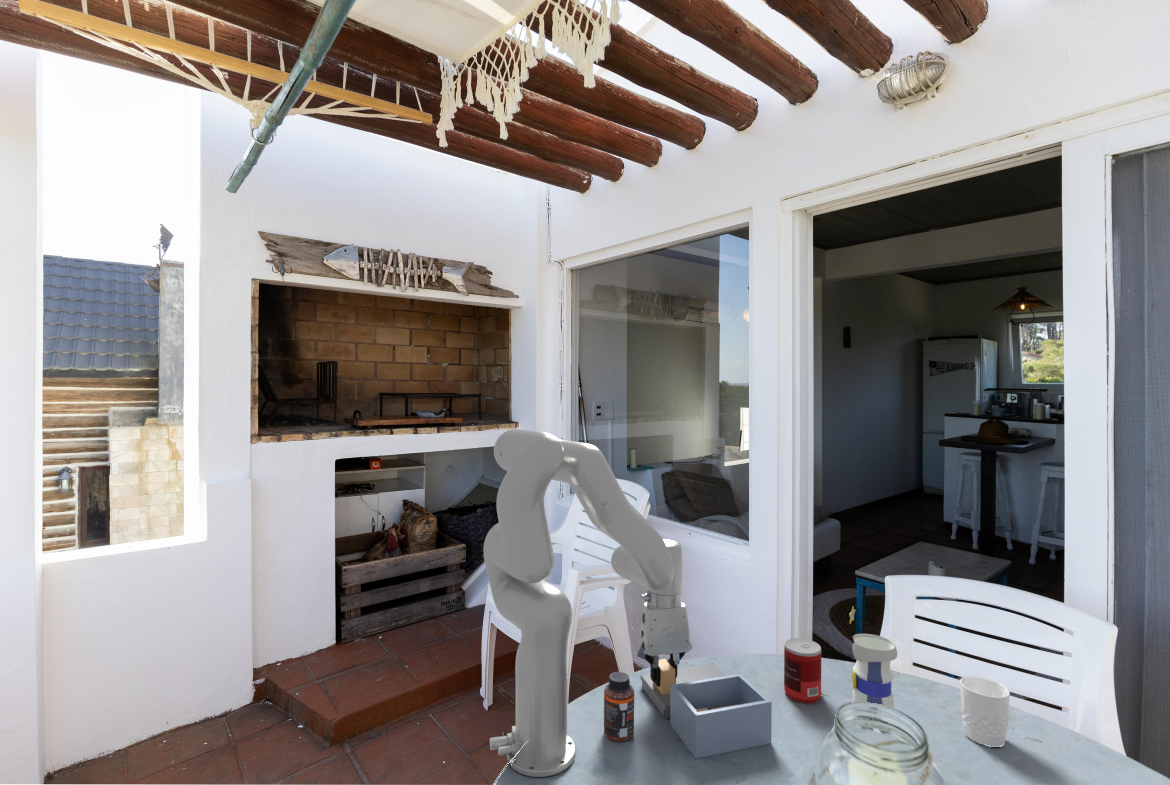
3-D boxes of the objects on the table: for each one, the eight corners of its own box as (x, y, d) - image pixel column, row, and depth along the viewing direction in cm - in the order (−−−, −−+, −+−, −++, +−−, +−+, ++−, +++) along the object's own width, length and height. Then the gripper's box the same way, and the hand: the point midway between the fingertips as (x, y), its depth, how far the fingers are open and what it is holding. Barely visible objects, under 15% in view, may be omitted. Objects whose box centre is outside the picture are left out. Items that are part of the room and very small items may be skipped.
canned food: (824, 691, 126) (824, 642, 126) (817, 708, 119) (817, 656, 119) (788, 681, 130) (788, 634, 130) (780, 697, 124) (780, 648, 124)
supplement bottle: (632, 745, 107) (632, 686, 107) (601, 741, 108) (601, 682, 108) (635, 726, 113) (635, 670, 113) (606, 723, 114) (606, 667, 114)
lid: (665, 718, 115) (665, 682, 115) (640, 685, 128) (640, 652, 128) (744, 704, 120) (744, 669, 120) (712, 674, 133) (712, 642, 133)
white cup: (965, 720, 115) (965, 672, 115) (1012, 737, 110) (1013, 686, 109) (955, 737, 110) (955, 686, 110) (1005, 756, 104) (1005, 702, 104)
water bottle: (849, 749, 106) (850, 617, 106) (847, 724, 114) (848, 601, 114) (899, 760, 103) (900, 624, 102) (893, 734, 111) (894, 607, 110)
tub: (695, 758, 103) (696, 715, 103) (670, 724, 114) (670, 685, 114) (771, 743, 108) (771, 701, 108) (739, 711, 118) (740, 673, 118)
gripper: (635, 608, 116) (635, 696, 117) (706, 600, 121) (705, 685, 121) (622, 595, 124) (622, 678, 124) (690, 588, 128) (689, 668, 128)
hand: (663, 681), depth 122 cm, fingers closed on lid, 3 cm apart
